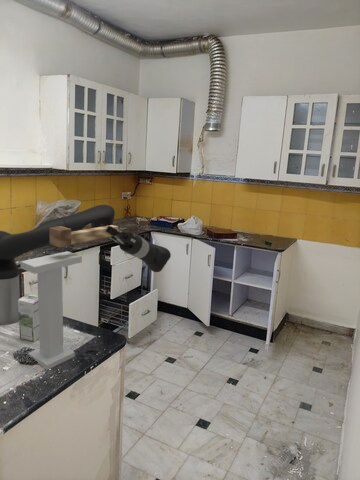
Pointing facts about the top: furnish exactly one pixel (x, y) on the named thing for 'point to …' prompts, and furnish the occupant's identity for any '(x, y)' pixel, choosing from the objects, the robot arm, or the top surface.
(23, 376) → the top surface
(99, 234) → the mallet
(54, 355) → the stand
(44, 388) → the top surface
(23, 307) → the syrup box
